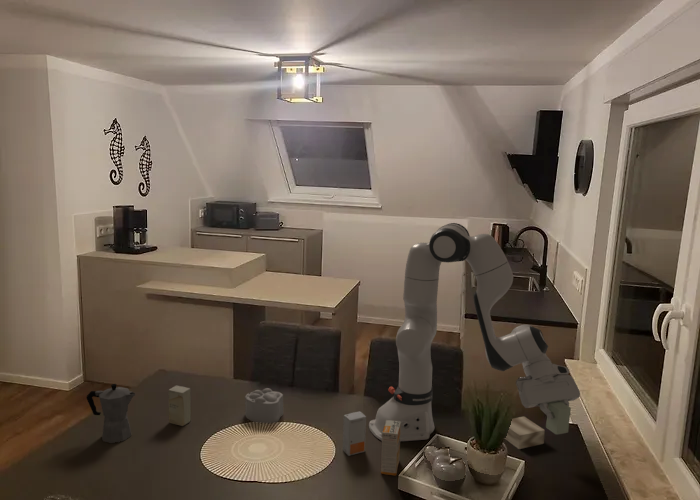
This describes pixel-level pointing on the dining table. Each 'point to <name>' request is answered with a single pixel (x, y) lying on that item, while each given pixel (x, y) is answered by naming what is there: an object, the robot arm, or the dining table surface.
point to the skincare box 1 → (179, 405)
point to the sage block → (559, 418)
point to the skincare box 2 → (354, 433)
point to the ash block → (524, 433)
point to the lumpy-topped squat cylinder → (264, 406)
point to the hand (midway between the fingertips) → (559, 417)
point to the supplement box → (390, 447)
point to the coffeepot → (113, 412)
